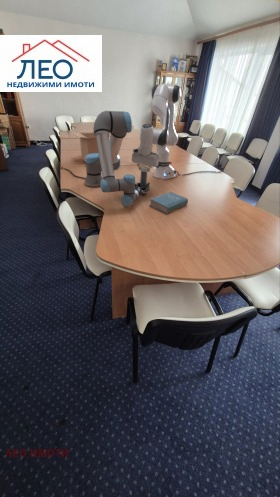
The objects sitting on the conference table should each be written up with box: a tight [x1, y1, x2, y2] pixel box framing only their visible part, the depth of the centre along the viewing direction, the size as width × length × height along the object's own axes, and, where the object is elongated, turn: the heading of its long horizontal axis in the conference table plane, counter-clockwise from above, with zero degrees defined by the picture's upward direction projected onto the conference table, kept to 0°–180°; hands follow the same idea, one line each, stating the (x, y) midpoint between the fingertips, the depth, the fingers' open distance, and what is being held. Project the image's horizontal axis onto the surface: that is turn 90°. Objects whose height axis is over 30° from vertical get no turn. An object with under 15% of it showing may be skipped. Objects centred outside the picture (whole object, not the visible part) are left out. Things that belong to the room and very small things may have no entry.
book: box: [149, 191, 189, 214], centre depth 157 cm, size 23×16×5 cm
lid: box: [139, 165, 149, 173], centre depth 162 cm, size 6×6×2 cm
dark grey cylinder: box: [139, 171, 148, 196], centre depth 168 cm, size 5×5×20 cm
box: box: [70, 129, 111, 163], centre depth 229 cm, size 44×36×27 cm
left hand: (145, 183), depth 174 cm, fingers closed on dark grey cylinder, 5 cm apart
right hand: (144, 170), depth 163 cm, fingers closed on lid, 6 cm apart
